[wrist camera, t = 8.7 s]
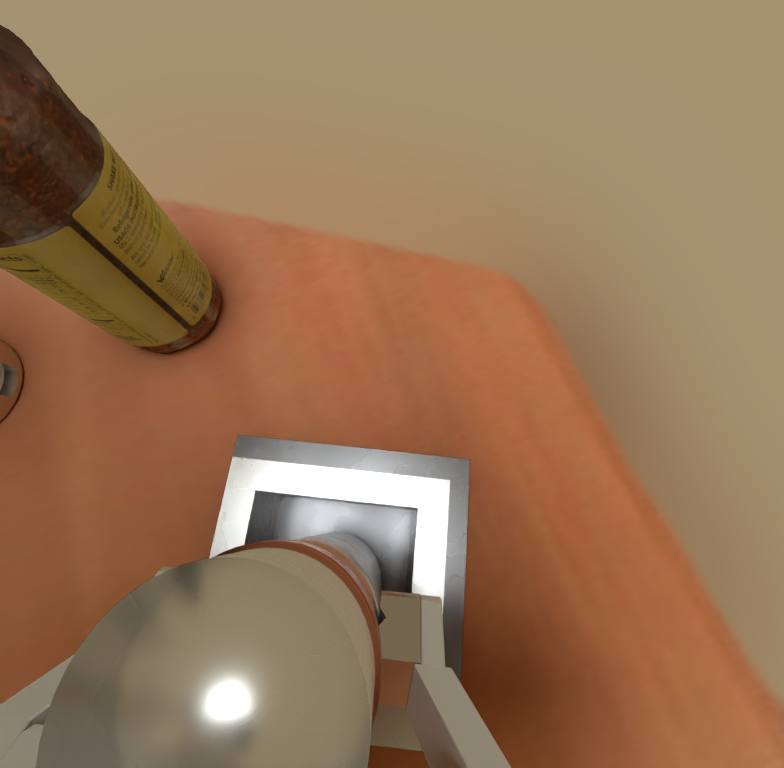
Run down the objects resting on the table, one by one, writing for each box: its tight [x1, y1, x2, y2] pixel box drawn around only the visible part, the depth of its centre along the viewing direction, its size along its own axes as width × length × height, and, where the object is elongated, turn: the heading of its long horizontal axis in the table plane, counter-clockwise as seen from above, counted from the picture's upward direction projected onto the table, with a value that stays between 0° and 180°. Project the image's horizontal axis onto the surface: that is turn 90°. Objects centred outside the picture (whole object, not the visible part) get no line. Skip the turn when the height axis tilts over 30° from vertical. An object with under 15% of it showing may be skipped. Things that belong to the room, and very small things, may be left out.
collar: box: [209, 435, 470, 751], centre depth 17 cm, size 12×12×5 cm
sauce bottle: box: [0, 25, 221, 353], centre depth 14 cm, size 7×6×20 cm
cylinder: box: [36, 532, 382, 768], centre depth 11 cm, size 4×4×12 cm
